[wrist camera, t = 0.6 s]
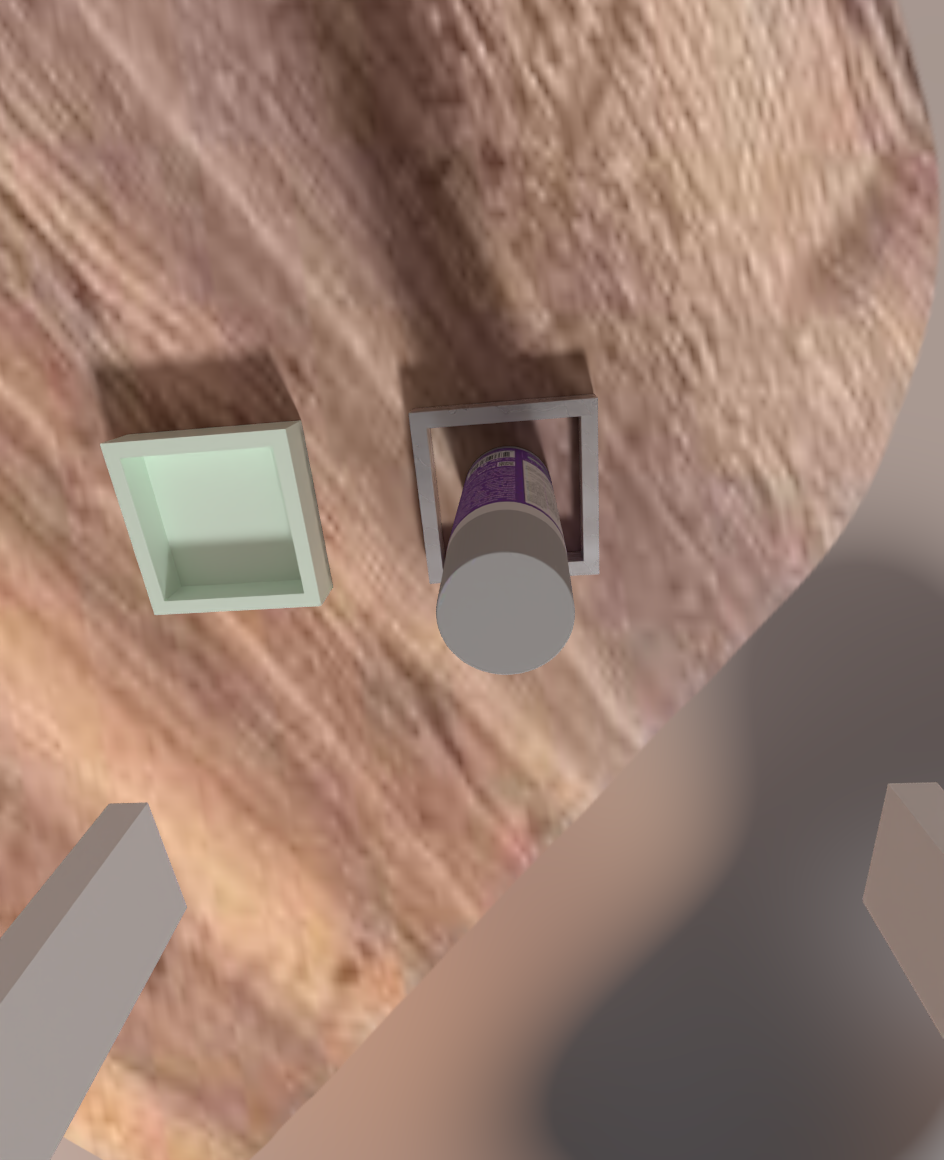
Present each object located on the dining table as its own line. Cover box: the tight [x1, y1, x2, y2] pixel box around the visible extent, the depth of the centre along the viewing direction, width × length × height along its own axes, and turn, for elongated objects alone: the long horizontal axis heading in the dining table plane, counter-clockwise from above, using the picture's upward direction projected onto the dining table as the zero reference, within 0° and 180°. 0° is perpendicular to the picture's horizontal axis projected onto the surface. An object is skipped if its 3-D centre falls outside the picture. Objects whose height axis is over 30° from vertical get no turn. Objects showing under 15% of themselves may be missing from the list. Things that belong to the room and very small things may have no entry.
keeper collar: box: [409, 394, 599, 584], centre depth 33 cm, size 9×9×2 cm
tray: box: [100, 420, 333, 615], centre depth 34 cm, size 10×10×2 cm
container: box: [436, 446, 575, 675], centre depth 27 cm, size 5×5×15 cm
